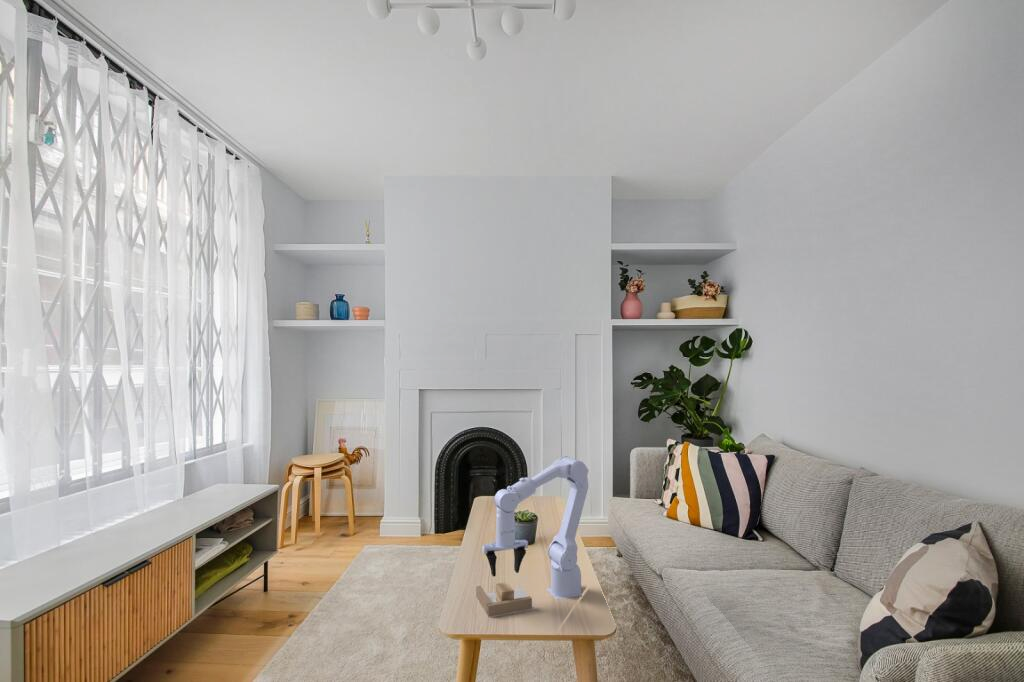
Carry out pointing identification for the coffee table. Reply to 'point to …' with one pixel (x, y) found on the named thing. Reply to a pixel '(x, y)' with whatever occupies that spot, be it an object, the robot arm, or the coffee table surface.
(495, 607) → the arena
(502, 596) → the oak block
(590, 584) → the coffee table surface
